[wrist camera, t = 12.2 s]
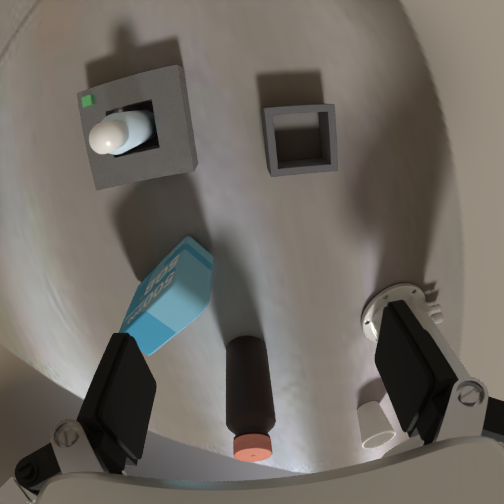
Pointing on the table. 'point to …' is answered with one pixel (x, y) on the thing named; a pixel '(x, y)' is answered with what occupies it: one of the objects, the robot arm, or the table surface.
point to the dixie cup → (374, 425)
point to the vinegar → (249, 398)
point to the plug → (122, 131)
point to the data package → (170, 296)
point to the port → (166, 118)
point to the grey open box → (326, 136)
